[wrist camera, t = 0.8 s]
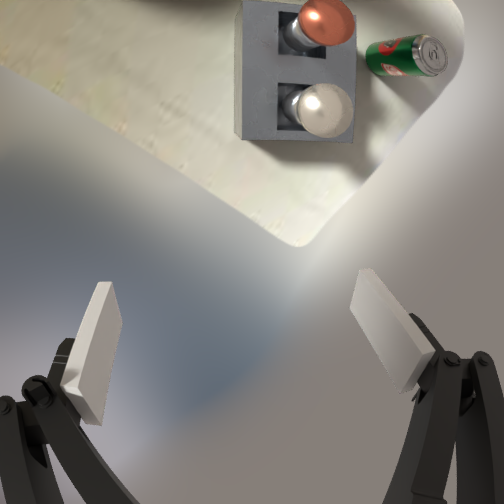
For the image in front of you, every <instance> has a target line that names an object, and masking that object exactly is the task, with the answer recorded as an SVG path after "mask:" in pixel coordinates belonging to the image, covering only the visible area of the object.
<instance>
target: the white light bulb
mask: <svg viewBox="0 0 504 504" xmlns="http://www.w3.org/2000/svg"><path fill="white" fill-rule="evenodd" d="M282 111H283V114H284V116H285V117H286V118H287V119H288V120H289V121H291V122H293V123H296V124H300V125H302V126H303V127H304V128H305V129H306V130H307V131H308V132H310V133H312V134H314V135H316V136H319V137H323V138H333V137H336V136H339V135H341V134H342V133H343V132H345V131H346V130H347V128H348V127H349V126H350V124H351V121H352V118H353V105H352V102H351V99H350V98H349V96H348V94H347V93H346V92H345V91H344V90H343V89H342V88H340V87H338V86H336V85H334V84H329V83H322V84H315V85H312V86H310V87H308V88H307V89H305V90H299V91H293V92H290V93H289V94H287V95H286V96H285V98H284V100H283V102H282Z"/></svg>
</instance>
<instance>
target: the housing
mask: <svg viewBox="0 0 504 504" xmlns="http://www.w3.org/2000/svg"><path fill="white" fill-rule="evenodd" d="M302 6H303V5H295V4H287V3H277V2H265V1H247V0H243V1H242V4H241V6H240V8H239V11H238V13H237V16H236V18H235V51H234V132H235V133H236V134H237V136H238V137H239V138H240V139H241V140H304V141H327V142H343V143H353V130H354V114H355V93H356V15H353V17H354V21H355V30H354V33H353V35H352V37H351V38H350V39H349V40H348V41H346V42H344V43H342V44H339V45H336V46H321V45H320V46H318V47H315V48H313V49H310V50H308V51H304V52H299V51H295V50H293V49H291V48H290V47H289V46H287V44H286V43H285V41H284V39H283V31H284V28H285V27H286V26H287V25H288V24H289V23H290V22H291V21H293V20H294V19H295V18H296V17H298V14H299V11H300V9H301V7H302ZM322 83H329V84H334V85H336V86H338V87H340V88H342V89H343V90H344V91H345V92H346V93H347V94H348V96H349V98H350V99H351V102H352V105H353V118H352V121H351V124H350V126H349V127H348V128H347V130H346V131H345V132H343V133H342V134H341V135H339V136H336V137H333V138H323V137H319V136H316V135H314V134H312V133H310V132H308V131H307V130H306V129H305V128H304V127H303V126H302V125H300V124H296V123H293V122H291V121H289V120H288V119H287V118H286V117H285V116H284V114H283V111H282V102H283V100H284V98H285V96H286V95H287V94H289V93H290V92H293V91H299V90H305V89H307V88H308V87H310V86H312V85H315V84H322Z"/></svg>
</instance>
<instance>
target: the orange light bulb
mask: <svg viewBox="0 0 504 504" xmlns="http://www.w3.org/2000/svg"><path fill="white" fill-rule="evenodd" d="M354 30H355V21H354V17H353V15H352V13H351V11H350V10H349V8H348V7H347V6H346V5H345V4H343V3H342V2H341V1H339V0H309V1H308V2H306V3H305V4H304V5H303V6H302V7H301V9H300V11H299V14H298V17H296V18H295V19H294V20H293V21H291V22H290V23H289V24H288V25H287V26H286V27H285V28H284V31H283V39H284V41H285V43H286V44H287V46H289V47H290V48H291V49H293V50H295V51H299V52H304V51H308V50H310V49H313V48H315V47H318V46H320V45H321V46H336V45H339V44H342V43H344V42H346V41H348V40H349V39H350V38H351V37H352V35H353V33H354Z"/></svg>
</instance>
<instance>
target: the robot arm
mask: <svg viewBox="0 0 504 504" xmlns="http://www.w3.org/2000/svg"><path fill="white" fill-rule="evenodd" d="M350 310H351V312H352V313H353V315H354V317H355V318H356V320H357V321H358V323H359V325H360V326H361V328H362V330H363V331H364V333H365V335H366V336H367V338H368V340H369V342H370V343H371V345H372V346H373V348H374V350H375V352H376V353H377V355H378V357H379V358H380V360H381V362H382V364H383V366H384V367H385V369H386V371H387V373H388V374H389V376H390V378H391V380H392V381H393V383H394V385H395V387H396V389H397V390H398V392H399V394H401V393H404V392H407V391H410V390H412V389H413V388H414V386H415V384H416V383H418V384H419V386H420V388H419V389H418V391H417V393H416V394H415V395H414V397H413V399H412V401H414V400H415V398H416V401H415V405H414V409H413V413H412V417H411V421H410V425H409V428H408V432H407V435H406V439H405V442H404V445H403V448H402V452H401V455H400V458H399V461H398V464H397V467H396V470H395V472H394V475H393V478H392V481H391V483H390V486H389V488H388V491H387V493H386V496H385V498H384V501H383V503H382V504H447V501H446V500H444V499H443V494H444V490H445V486H446V482H447V478H448V474H449V469H450V465H451V459H452V455H453V449H454V444H455V442H456V459H457V460H456V461H457V504H504V397H503V393H502V389H501V385H500V382H499V378H498V375H497V371H496V368H495V365H494V362H493V360H492V358H491V357H490V356H489V354H487V353H485V352H482V351H478V352H476V353H475V354H474V356H473V357H472V358H471V359H461V358H460V357H459V356H458V355H457V354H456V353H454V352H451V351H445V350H444V349H443V348H442V346H441V345H440V344H439V343H438V341H437V340H436V338H435V337H434V336H433V335H432V333H431V332H430V331H429V329H428V328H427V327H425V326H426V325H425V324H424V323H423V322H422V320H421V319H420V318H418V317H417V316H416V315H414V314H413V313H411V314H408V313H407V312H406V311H405V309H404V308H403V307H402V306H401V304H400V303H399V302H398V301H397V299H396V298H395V297H394V296H393V294H392V293H391V292H390V291H389V289H388V288H387V287H386V286H385V285H384V283H383V282H382V281H381V280H380V279H379V277H378V276H377V275H376V274H375V273H374V271H373V270H372V269H371V268H370V269H360V270H359V273H358V277H357V282H356V286H355V289H354V293H353V297H352V300H351V304H350ZM122 323H123V322H122V319H121V315H120V311H119V308H118V304H117V300H116V296H115V293H114V288H113V285H112V282H98V284H97V287H96V289H95V291H94V293H93V296H92V298H91V300H90V303H89V305H88V308H87V310H86V313H85V315H84V318H83V320H82V323H81V326H80V328H79V331H78V334H77V336H76V339H73V338H66V339H65V340H64V341H63V342H62V343H61V344H60V345H59V347H58V350H57V353H56V356H55V358H54V360H53V363H52V366H51V369H50V371H49V374H48V377H47V378H46V377H44V376H42V375H35V376H32V377H30V378H29V379H27V380H26V381H25V383H24V384H23V386H22V395H23V397H24V398H25V400H26V401H22V402H15V400H14V399H13V398H12V397H10V396H2V397H0V477H1V482H2V487H3V491H4V495H5V499H6V503H7V504H64V502H63V499H62V496H61V493H60V490H59V488H58V485H57V482H56V478H55V475H54V472H53V469H52V465H51V462H50V458H49V455H48V451H47V447H46V444H50V446H51V448H52V450H53V451H54V453H55V455H56V457H57V459H58V460H59V462H60V463H61V465H62V467H63V469H64V471H65V472H66V474H67V475H68V477H69V479H70V480H71V482H72V483H73V485H74V486H75V488H76V489H77V491H78V492H79V494H80V495H81V496H82V498H83V500H84V501H85V502H86V504H140V503H139V502H138V501H137V500H136V499H135V498H134V497H133V496H132V494H131V493H130V492H129V491H128V490H127V489H126V488H125V486H124V485H123V484H122V483H121V481H120V480H119V479H118V478H117V476H116V475H115V474H114V473H113V471H112V470H111V469H110V468H109V466H108V465H107V464H106V462H105V461H104V460H103V459H102V457H101V456H100V454H99V453H98V451H97V450H96V449H95V447H94V446H93V444H92V443H91V442H90V440H89V438H88V437H87V435H86V434H85V432H84V431H83V429H82V428H81V426H80V420H81V418H82V419H83V421H84V422H85V423H86V424H90V425H100V426H101V425H102V422H103V415H104V409H105V403H106V397H107V392H108V387H109V382H110V376H111V371H112V367H113V362H114V357H115V353H116V348H117V344H118V339H119V335H120V331H121V327H122ZM474 392H475V393H474Z"/></svg>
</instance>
